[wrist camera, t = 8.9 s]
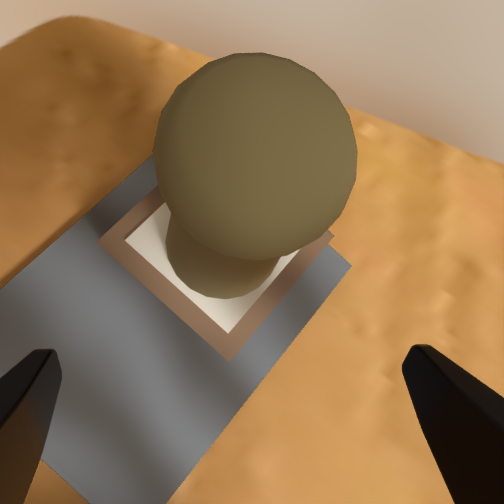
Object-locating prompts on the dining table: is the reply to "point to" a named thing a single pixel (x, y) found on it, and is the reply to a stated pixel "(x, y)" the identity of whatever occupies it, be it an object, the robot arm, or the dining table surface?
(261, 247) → the olive pawn piece
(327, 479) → the dining table surface
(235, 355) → the build base
